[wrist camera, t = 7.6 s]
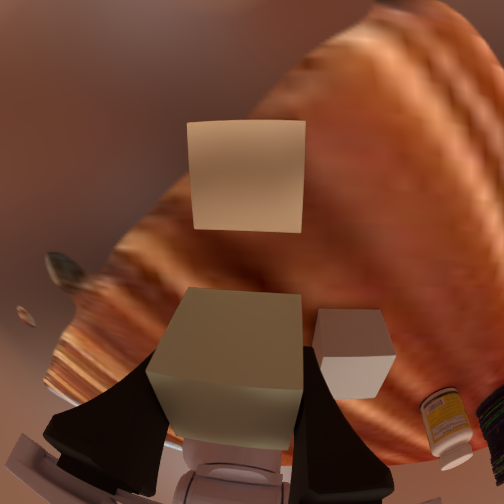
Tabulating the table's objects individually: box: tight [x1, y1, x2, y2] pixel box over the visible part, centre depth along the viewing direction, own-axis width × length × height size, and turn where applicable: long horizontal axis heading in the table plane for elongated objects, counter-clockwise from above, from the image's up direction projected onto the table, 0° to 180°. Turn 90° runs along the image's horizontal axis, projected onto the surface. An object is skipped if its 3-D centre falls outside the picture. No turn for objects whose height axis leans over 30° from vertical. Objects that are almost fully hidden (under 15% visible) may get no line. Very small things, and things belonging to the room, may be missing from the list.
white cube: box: [312, 308, 396, 400], centre depth 19 cm, size 5×5×5 cm
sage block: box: [145, 287, 303, 450], centre depth 11 cm, size 5×5×5 cm
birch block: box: [187, 120, 305, 233], centre depth 14 cm, size 5×5×5 cm
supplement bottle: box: [420, 388, 473, 470], centre depth 21 cm, size 5×5×10 cm
